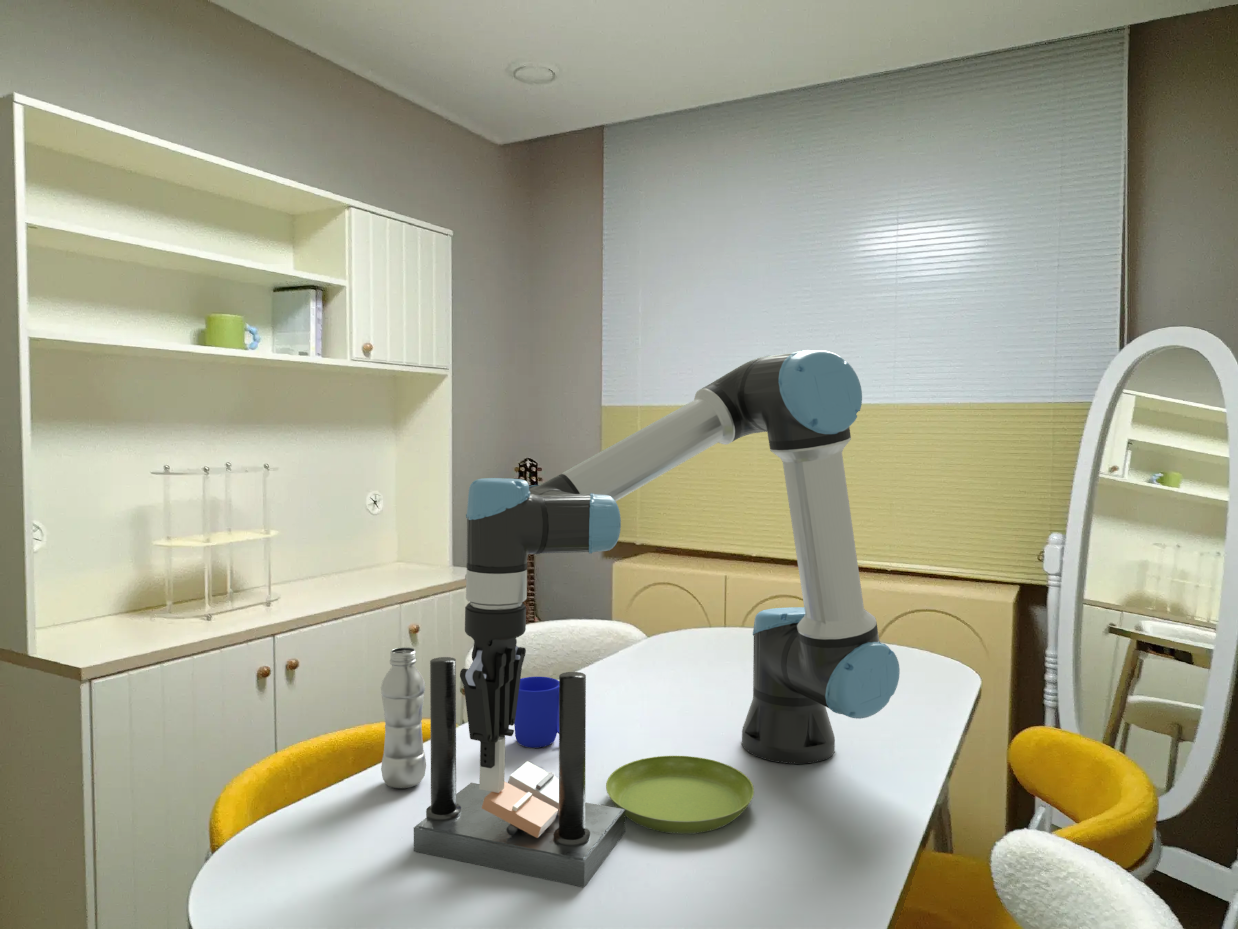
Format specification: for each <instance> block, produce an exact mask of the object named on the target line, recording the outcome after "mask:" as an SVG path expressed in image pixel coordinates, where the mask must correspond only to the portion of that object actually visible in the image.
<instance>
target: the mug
mask: <svg viewBox="0 0 1238 929" xmlns="http://www.w3.org/2000/svg"><path fill="white" fill-rule="evenodd" d="M513 726H514V735H515V739H516V742H517V743H518V744H519V745H520V746H523V747H524V748H525V747H526V748H530V749H531V748H532V749H534V748H535V749H536V748H537V749H539V748H545V747H548V746H550V745H551V744H553V743H554V742H555V740H556V737H557V734H558V735H559V680H558V679H556V678H553V677H548V676H527V677H521V678H520V686H519V694H518V702H517V710H516V718H515V723H514V725H513Z"/></svg>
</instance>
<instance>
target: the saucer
mask: <svg viewBox="0 0 1238 929" xmlns="http://www.w3.org/2000/svg"><path fill="white" fill-rule="evenodd" d="M605 788H606V790H605V791H606V794H607V796H608V797H609V798H610V800H611V802H612V803H613V805H614V807H615V808H621V809H625V818H627V819H629V820H630V821H632V822H633V823H634V824H635V823H636V824H637V825H639V826H641V827H644V828H646V829H649V830H652V831H656V832H662V833H667V834H674V835H675V834H679V835H683V834H684V835H688V834H689V835H692V834H693V835H694V834H701V833H706V832H710V831H714V830H717V829H720V828H723V827H724V826H726V825H729V824H730V823H732V822H733V821H734V820H736V819H737V818H738V817H740V815H741V814H743V812H744V811H745V810H746V809H747V808H748V806H749V805H750V803H751V802H752V801H753V800H752V799H753V798H754V796H755V788H754V784H753V782H752V781H751V780H750V778H749V777H748V776H747V775H746V774H744V773H743V772H742V771H740V770H738V769H737V768H735V767H733V766H731V765H730V764H729V765H728V764H726V763H724V762H722V761H721V762H720V761H717V760H714V759H709V758H706V757H705V758H703V757H699V756H690V755H661V756H660V755H658V756H651V757H646V758H640V759H636V760H633V761H630V762H628V763H625V764H624V765H621V766H619V767H618V768H616V769H615V770H614V771H613V772H611V774H610V775H609V776H608V778H607V779H606V783H605Z"/></svg>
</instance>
